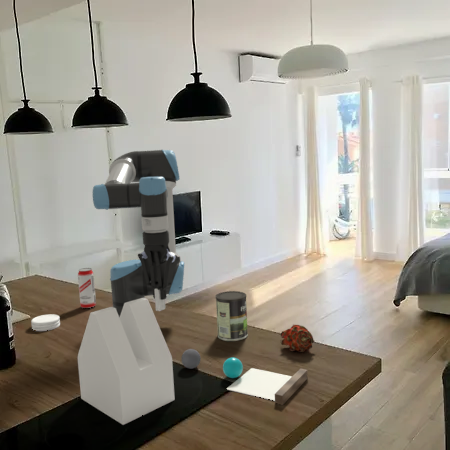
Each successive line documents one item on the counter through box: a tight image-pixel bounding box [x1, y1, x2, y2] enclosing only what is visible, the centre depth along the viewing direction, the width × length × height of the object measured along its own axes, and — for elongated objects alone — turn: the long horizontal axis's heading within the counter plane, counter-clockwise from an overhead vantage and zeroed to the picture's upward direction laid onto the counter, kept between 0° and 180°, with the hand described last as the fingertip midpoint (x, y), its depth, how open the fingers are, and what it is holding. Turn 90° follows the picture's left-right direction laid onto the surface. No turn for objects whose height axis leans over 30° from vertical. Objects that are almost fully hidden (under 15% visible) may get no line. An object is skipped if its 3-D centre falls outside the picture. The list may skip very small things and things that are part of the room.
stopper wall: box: [274, 368, 308, 406], centre depth 129 cm, size 16×2×2 cm, turn 149°
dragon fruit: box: [279, 324, 315, 353], centre depth 155 cm, size 8×8×12 cm
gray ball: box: [180, 348, 202, 370], centre depth 146 cm, size 6×6×6 cm
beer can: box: [77, 267, 97, 309], centre depth 208 cm, size 6×6×16 cm
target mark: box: [226, 367, 293, 402], centre depth 134 cm, size 14×14×1 cm
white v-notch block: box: [77, 297, 175, 426], centre depth 127 cm, size 19×15×25 cm
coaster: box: [30, 313, 61, 332], centre depth 187 cm, size 10×10×4 cm
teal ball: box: [222, 356, 244, 379], centre depth 138 cm, size 6×6×6 cm
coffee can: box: [214, 290, 249, 342], centre depth 169 cm, size 10×10×14 cm
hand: (160, 309), depth 149 cm, fingers closed
